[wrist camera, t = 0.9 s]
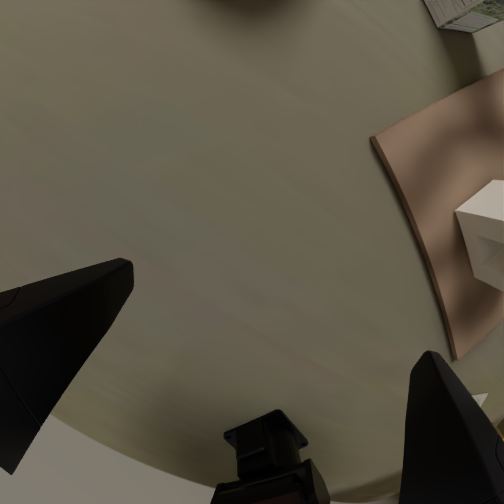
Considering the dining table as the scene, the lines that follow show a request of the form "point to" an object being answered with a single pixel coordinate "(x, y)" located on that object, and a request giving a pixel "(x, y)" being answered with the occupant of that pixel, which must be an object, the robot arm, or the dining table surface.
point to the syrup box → (465, 14)
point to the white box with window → (485, 233)
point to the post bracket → (450, 195)
